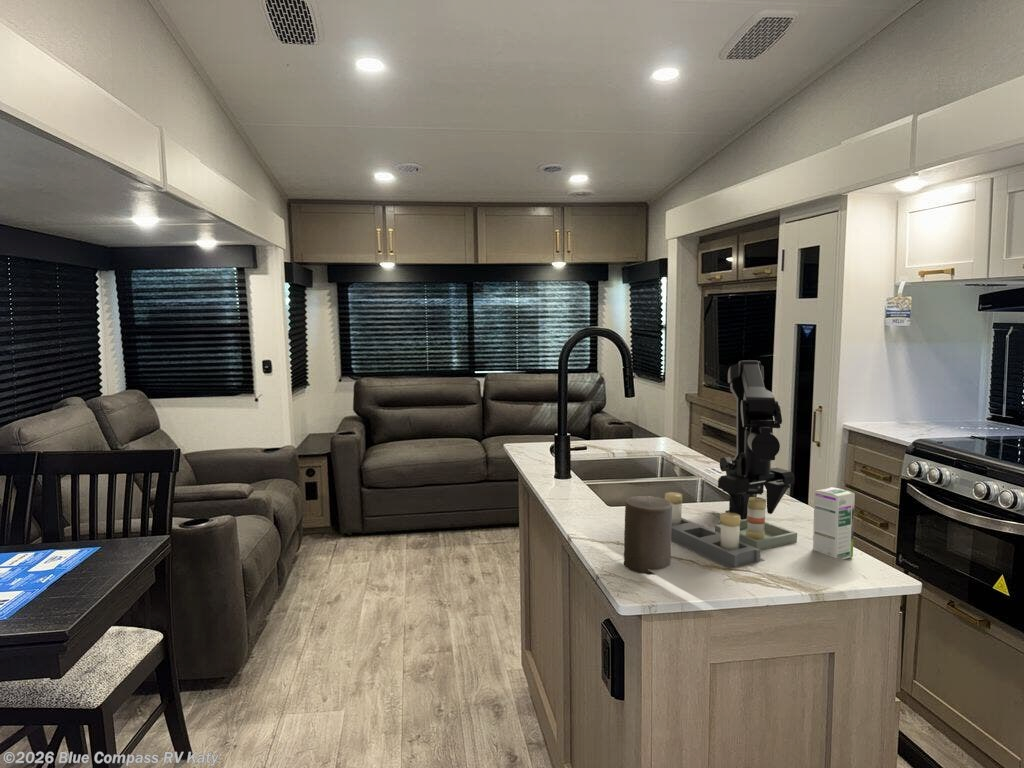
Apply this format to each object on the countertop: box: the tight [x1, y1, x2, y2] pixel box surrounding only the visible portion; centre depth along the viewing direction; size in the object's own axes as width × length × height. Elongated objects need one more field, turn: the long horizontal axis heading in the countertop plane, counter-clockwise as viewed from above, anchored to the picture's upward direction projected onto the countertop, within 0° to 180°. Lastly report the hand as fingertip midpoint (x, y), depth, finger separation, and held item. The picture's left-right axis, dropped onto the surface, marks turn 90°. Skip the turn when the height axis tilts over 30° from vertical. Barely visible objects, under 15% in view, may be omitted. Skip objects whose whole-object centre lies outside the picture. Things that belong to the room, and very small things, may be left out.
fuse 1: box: [664, 491, 683, 526], centre depth 149 cm, size 4×4×9 cm
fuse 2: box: [719, 512, 741, 551], centre depth 133 cm, size 4×4×9 cm
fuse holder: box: [671, 517, 765, 570], centre depth 142 cm, size 28×10×4 cm, turn 26°
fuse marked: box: [746, 496, 767, 540], centre depth 144 cm, size 4×4×9 cm
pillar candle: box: [623, 495, 673, 575], centre depth 131 cm, size 10×10×15 cm
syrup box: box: [812, 486, 856, 560], centre depth 135 cm, size 6×6×14 cm
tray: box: [714, 519, 798, 551], centre depth 145 cm, size 13×13×3 cm
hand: (755, 516), depth 145 cm, fingers open, 9 cm apart
